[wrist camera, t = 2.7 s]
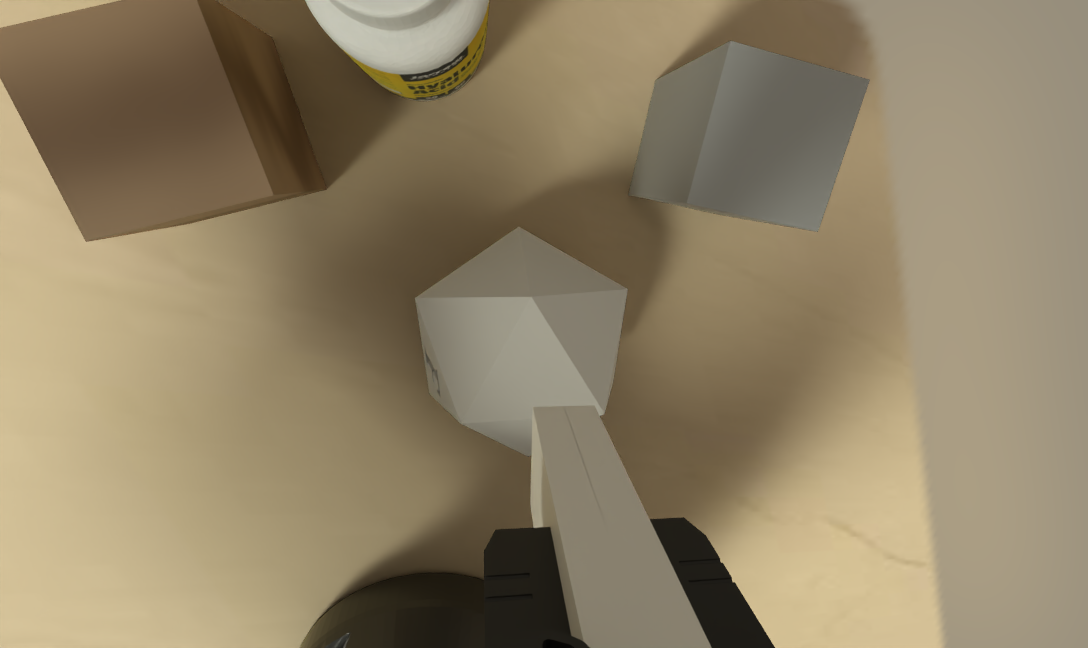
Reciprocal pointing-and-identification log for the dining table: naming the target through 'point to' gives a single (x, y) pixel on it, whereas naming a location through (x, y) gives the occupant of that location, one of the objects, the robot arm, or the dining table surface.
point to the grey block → (748, 136)
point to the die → (520, 337)
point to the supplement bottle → (409, 41)
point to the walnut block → (157, 113)
